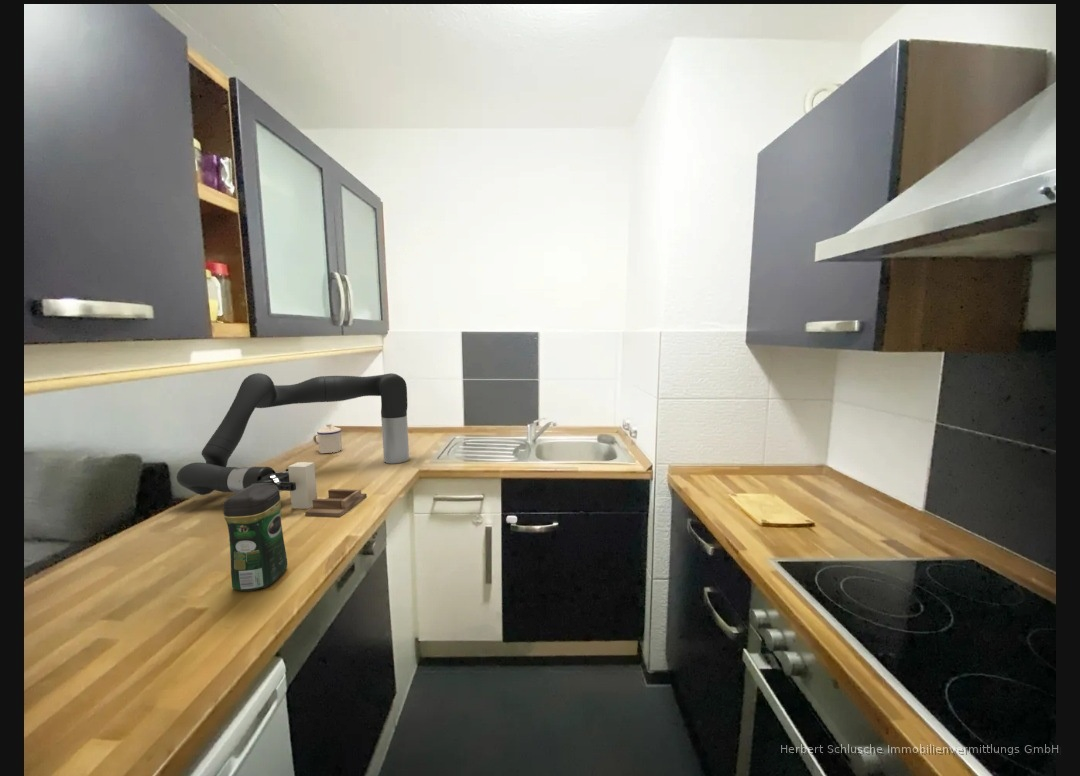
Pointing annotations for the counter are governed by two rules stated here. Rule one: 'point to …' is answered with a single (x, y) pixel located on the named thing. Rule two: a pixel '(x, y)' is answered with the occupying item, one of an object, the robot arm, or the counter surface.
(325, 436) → the teacup with lid
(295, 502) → the white rectangular block
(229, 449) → the robot arm
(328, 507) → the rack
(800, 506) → the counter surface
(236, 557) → the coffee jar
